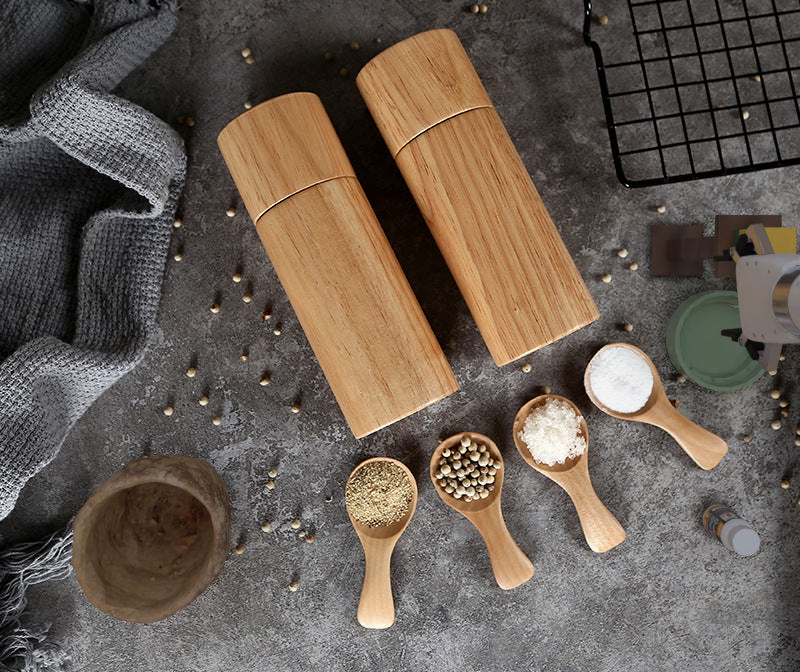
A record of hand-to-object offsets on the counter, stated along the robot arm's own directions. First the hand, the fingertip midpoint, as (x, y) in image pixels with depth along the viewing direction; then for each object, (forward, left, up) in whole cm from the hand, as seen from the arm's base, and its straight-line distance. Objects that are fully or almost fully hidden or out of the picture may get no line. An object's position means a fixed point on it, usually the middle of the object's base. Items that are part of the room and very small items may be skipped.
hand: (728, 294), depth 83 cm
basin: (-14, +9, -34) cm, 38 cm away
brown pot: (+80, +37, -34) cm, 94 cm away
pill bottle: (-15, +42, -34) cm, 56 cm away
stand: (-7, -7, -34) cm, 35 cm away
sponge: (-7, -7, -9) cm, 13 cm away
